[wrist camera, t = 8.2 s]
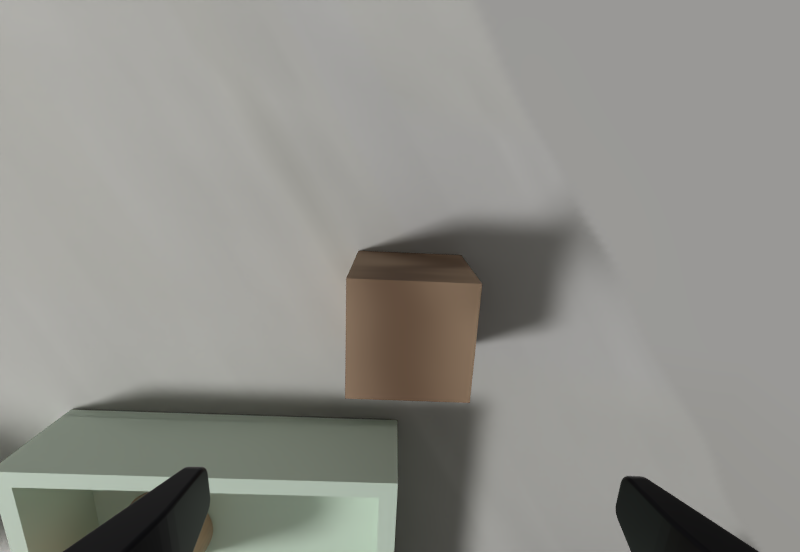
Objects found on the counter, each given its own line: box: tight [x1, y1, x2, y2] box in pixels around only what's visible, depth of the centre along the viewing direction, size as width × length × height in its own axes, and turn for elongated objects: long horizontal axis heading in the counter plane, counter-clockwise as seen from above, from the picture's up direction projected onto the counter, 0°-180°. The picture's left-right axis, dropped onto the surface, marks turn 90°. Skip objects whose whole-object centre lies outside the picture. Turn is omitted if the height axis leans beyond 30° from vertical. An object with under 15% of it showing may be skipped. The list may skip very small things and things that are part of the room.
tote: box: [0, 410, 398, 552], centre depth 21 cm, size 18×14×4 cm
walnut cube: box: [345, 251, 482, 403], centre depth 18 cm, size 5×5×5 cm
